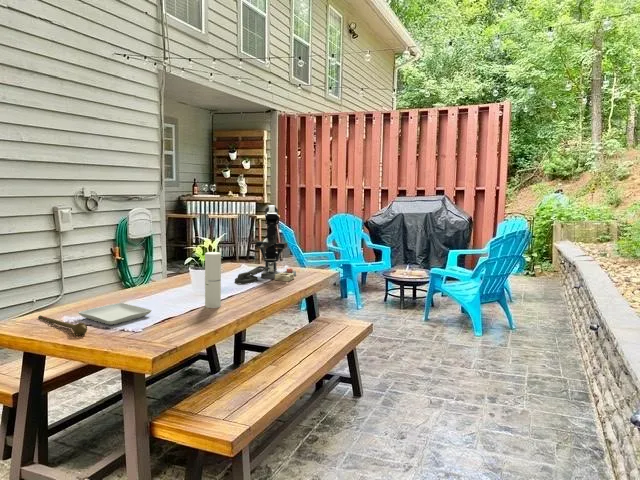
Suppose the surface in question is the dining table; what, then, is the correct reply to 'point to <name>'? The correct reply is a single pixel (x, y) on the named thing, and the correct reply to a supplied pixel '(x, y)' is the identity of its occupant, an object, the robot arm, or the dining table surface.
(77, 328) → the ball ended rod
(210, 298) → the cylindrical container
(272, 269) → the drill peg
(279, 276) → the rack
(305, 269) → the dining table surface
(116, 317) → the salad plate
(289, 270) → the release button
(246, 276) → the dark grey stapler
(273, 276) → the socket block
